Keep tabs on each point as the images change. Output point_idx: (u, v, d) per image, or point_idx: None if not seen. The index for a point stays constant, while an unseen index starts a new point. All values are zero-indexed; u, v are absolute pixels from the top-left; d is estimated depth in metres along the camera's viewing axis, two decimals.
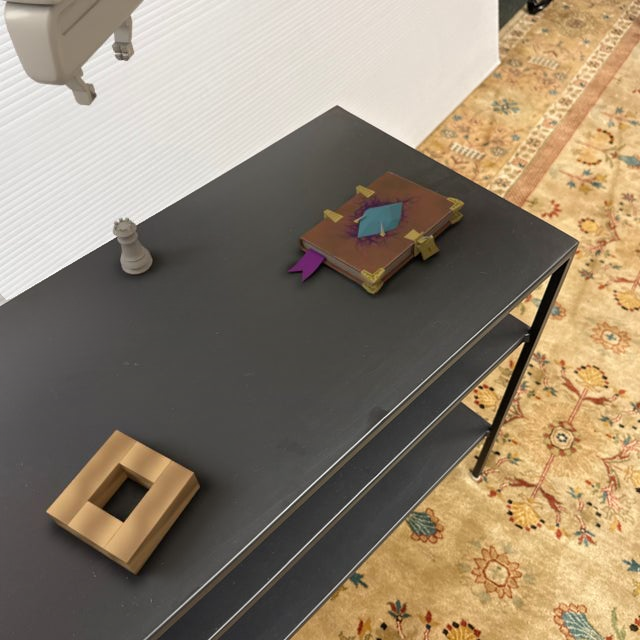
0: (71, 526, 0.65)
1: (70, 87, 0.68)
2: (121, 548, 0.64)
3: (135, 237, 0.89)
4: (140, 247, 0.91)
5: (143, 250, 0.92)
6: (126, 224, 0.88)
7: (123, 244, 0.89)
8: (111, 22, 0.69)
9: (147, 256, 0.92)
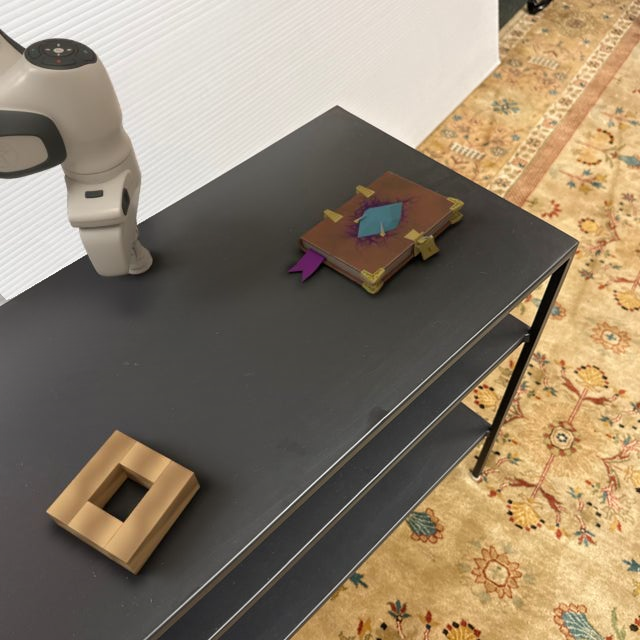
0: (71, 526, 0.65)
1: None
2: (121, 548, 0.64)
3: (135, 237, 0.89)
4: (140, 247, 0.91)
5: (143, 250, 0.92)
6: None
7: None
8: (135, 211, 0.88)
9: (147, 256, 0.92)
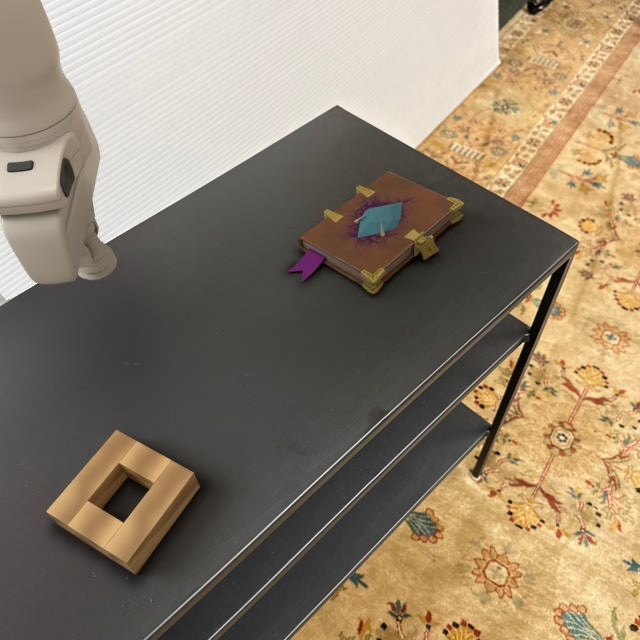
0: (71, 526, 0.65)
1: None
2: (121, 548, 0.64)
3: (91, 230, 0.66)
4: (99, 244, 0.67)
5: (103, 248, 0.68)
6: None
7: None
8: (89, 195, 0.64)
9: (109, 255, 0.69)
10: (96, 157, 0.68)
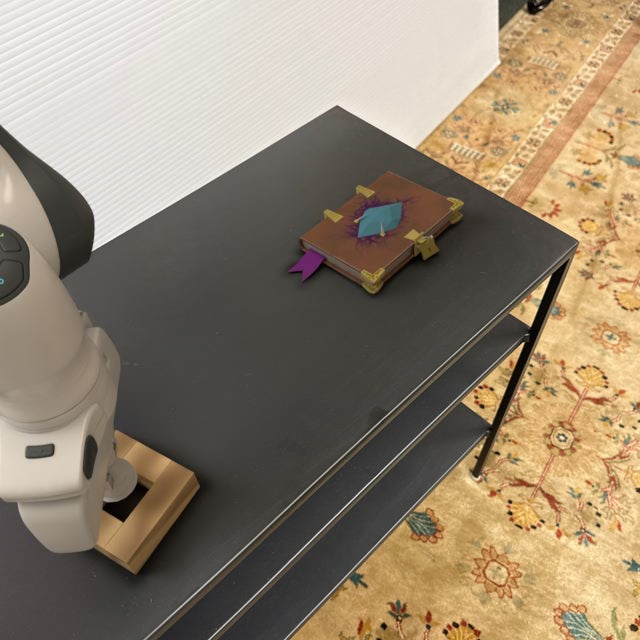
0: None
1: None
2: (121, 548, 0.64)
3: (111, 460, 0.61)
4: (119, 468, 0.63)
5: (124, 469, 0.64)
6: None
7: None
8: (109, 427, 0.60)
9: (130, 476, 0.64)
10: (117, 372, 0.64)
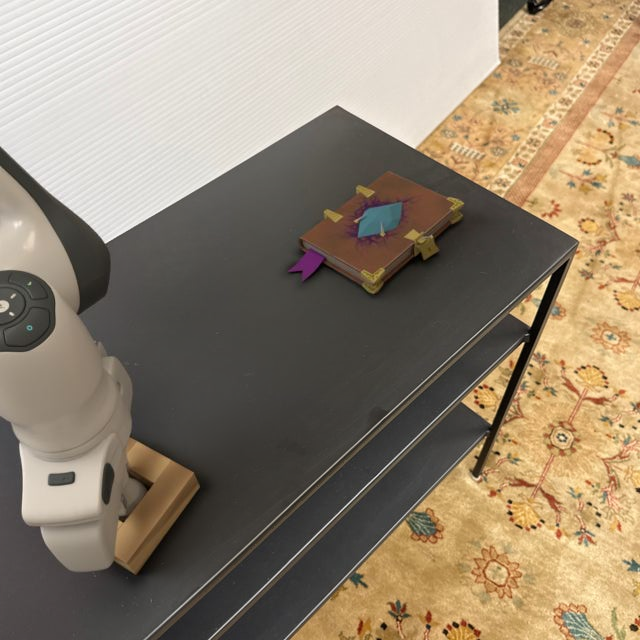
0: None
1: None
2: (121, 548, 0.64)
3: (125, 481, 0.65)
4: (132, 488, 0.67)
5: (136, 490, 0.68)
6: None
7: None
8: (123, 451, 0.64)
9: (141, 496, 0.68)
10: (129, 398, 0.68)
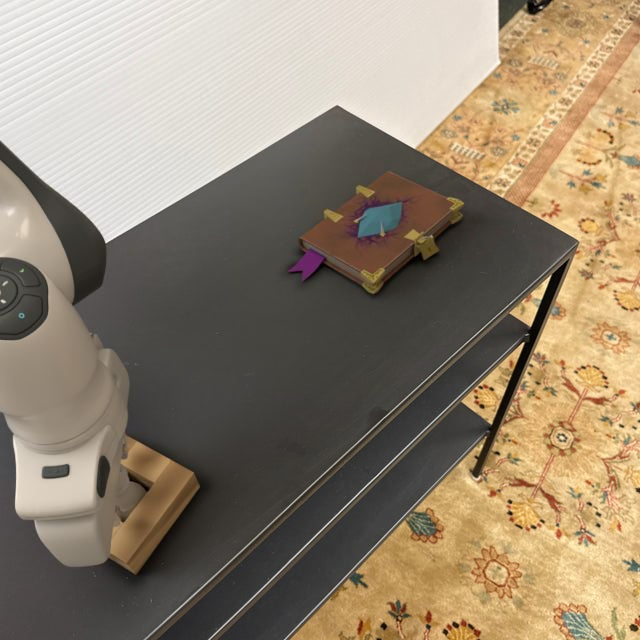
0: None
1: None
2: (121, 548, 0.64)
3: (126, 485, 0.65)
4: (133, 492, 0.67)
5: (137, 493, 0.68)
6: None
7: None
8: (120, 445, 0.63)
9: None
10: (126, 391, 0.67)
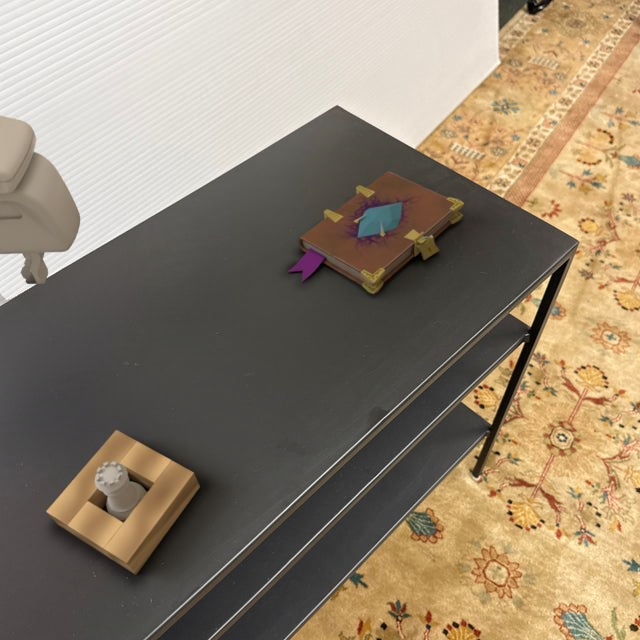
0: (71, 526, 0.65)
1: (39, 265, 0.56)
2: (121, 548, 0.64)
3: (126, 485, 0.65)
4: (133, 492, 0.67)
5: (137, 493, 0.68)
6: (113, 472, 0.64)
7: (109, 495, 0.65)
8: None
9: None
10: None
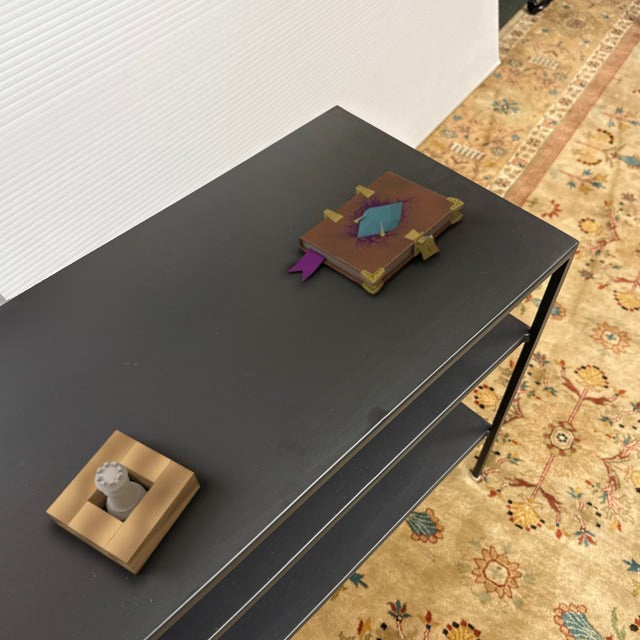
0: (71, 526, 0.65)
1: None
2: (121, 548, 0.64)
3: (126, 485, 0.65)
4: (133, 492, 0.67)
5: (137, 493, 0.68)
6: (113, 472, 0.64)
7: (109, 495, 0.65)
8: None
9: None
10: None
